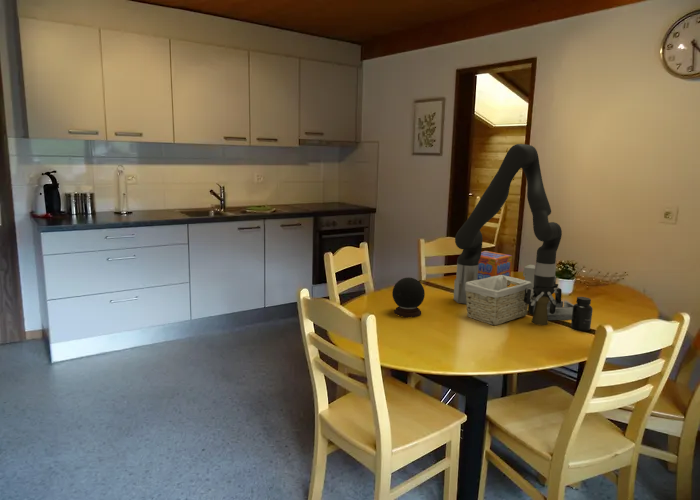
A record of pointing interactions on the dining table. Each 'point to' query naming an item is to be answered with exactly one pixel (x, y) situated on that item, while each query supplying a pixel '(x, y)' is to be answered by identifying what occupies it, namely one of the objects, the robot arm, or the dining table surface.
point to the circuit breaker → (532, 276)
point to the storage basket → (496, 299)
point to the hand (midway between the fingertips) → (541, 313)
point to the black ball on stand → (408, 297)
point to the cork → (541, 311)
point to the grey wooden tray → (560, 311)
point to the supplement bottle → (582, 314)
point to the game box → (494, 265)
